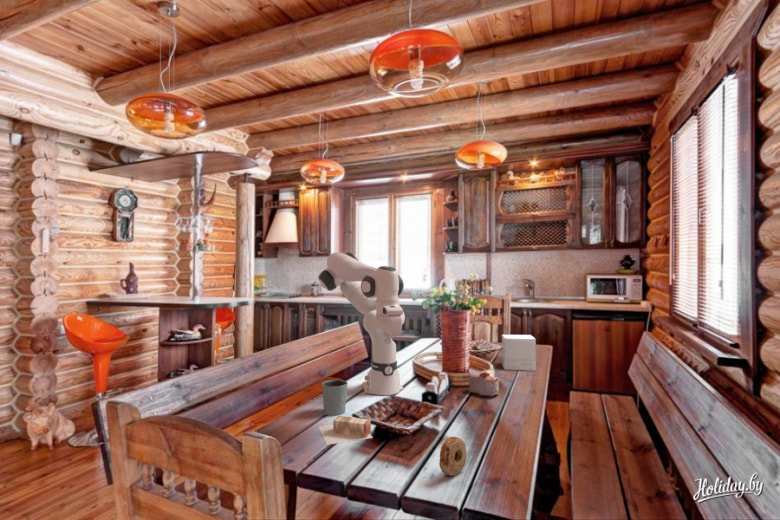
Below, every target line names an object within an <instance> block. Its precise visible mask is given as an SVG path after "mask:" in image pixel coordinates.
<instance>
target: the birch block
mask: <svg viewBox="0 0 780 520" xmlns="http://www.w3.org/2000/svg"><path fill="white" fill-rule="evenodd" d="M371 422H372V421H371V419H370V418H369V419H368V418H361V417H353V416H351V417H350V416H346V415H345V416H344V415H338V416H337V417H335V418H334V419H333V433H336V434H344V435H351V436H359V437H367V436H368V435H369V434H371V433H372V430H371V429H372V426H371V425H372V423H371Z"/></svg>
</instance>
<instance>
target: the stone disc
mask: <svg viewBox="0 0 780 520" xmlns="http://www.w3.org/2000/svg"><path fill="white" fill-rule="evenodd" d="M466 447H467V446H466V444H465V441H464V440H463V439H462V438H461V437H458V436H449V437H447V438H446V439H445V440H444V441H443V442H442V445H441V448H440V452H439V468H440V470H441V472H442V473H443V474H445V475H446V476H447V475H448V476H449V477H450V476H453V477H455V476H456V475H458V474H460V472H462V471H463V469H464V468H465V465H466V462H467V455H468V454H467V453H468V452H467V448H466Z"/></svg>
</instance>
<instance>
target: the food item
mask: <svg viewBox="0 0 780 520" xmlns="http://www.w3.org/2000/svg"><path fill="white" fill-rule="evenodd" d="M468 378H469V379H468V382H469V383H468V385H469V387H468V388H469V389H468V391H469V393H474V394H478V395H479V396H487V397H493V398H494V397H495V395H496V396H498V395H499V390H500V389H499V387H500V386H499V385H500V384H499V383H500V381H501V380H500V377H496V376H491V375H490V373H488V372H486V371H485V372H483V371H482V372H481V373H477V372H473V373H471V374H469V377H468Z"/></svg>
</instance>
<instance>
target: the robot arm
mask: <svg viewBox="0 0 780 520" xmlns="http://www.w3.org/2000/svg"><path fill="white" fill-rule="evenodd" d="M326 266H327V267H326V268H325V269H323V270H322V271H321V272H320V273H319V275H318V281H319V284H320V286H321V287H322V288H323V289H325V290H327V291H330V292H331V291H333V290H335V289H337V288H338V287H339V289H340V292H341V293H342V295H343V296H344V297H345V299H346V300H347V301H348V302H349V303H350V304H351V305H352V306H353V307H354V308H355V309H356V310H357V311H358V312H359V313H360V314H363V315H364V316H363V317H362V318H363V319H362V326H363V328H364V330H365V331H366V332H367V333H368V335H369V336H370V340H371V344H372V345H371V346H372V361H371V366H370V369H369V371H368V372H367V374H366V375H364V381H363V382H362V384H361V385H362V388H363V390H364V393H365V394H371V395H376V396H391V395H396V394H398V393H399V392H401V391H402V390H403V389H404V386H402V385H401V373H400V371H399V370H398V360H397V344H396V342H395V341H393V339H392V338H393V337H394V336H395V337H398V336H401V334H402V330H403V329H402V327H403V324H405V321H406V320H405V319H406V316H405V312H404V310H403V308H402V307H401V305H400V300H399V297H400V295H401V294H402V292H403V290H404V285H405V284H404V281H403V279H402V277H401V276H400V274H399V273H398V270H397V268H395V267H393V266H388V265H387V266H386V265H385V266H384V265H382V266H379V267H377V268H375V267H373V266H370V265H368V264H366V263H363V262H362V261H360V260H359V259H358V257H357V256H356V255H355V254H354V253H352V252H349V251H348V252H345V253H343V252H338V251H337V252H333V253H331V254H329V256H328V257H327V259H326Z"/></svg>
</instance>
